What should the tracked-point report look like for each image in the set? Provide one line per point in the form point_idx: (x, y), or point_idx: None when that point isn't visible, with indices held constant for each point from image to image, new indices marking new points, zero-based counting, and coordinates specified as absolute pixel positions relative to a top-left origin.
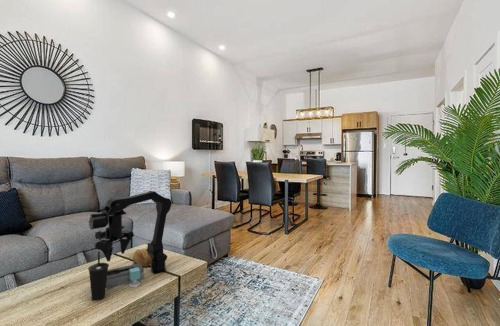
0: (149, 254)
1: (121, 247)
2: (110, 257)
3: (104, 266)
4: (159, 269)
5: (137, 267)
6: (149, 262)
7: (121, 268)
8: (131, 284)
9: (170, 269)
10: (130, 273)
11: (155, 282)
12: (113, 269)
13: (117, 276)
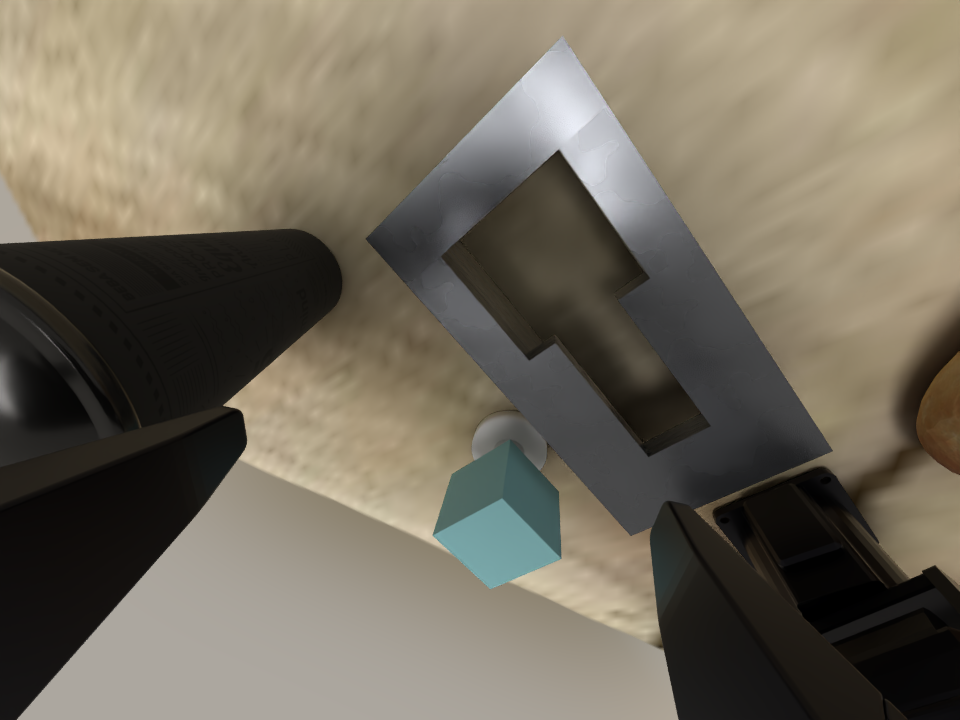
0: (878, 662)
1: (742, 669)
2: (164, 532)
3: None
4: (752, 562)
5: (552, 555)
6: (950, 470)
7: (670, 307)
8: (489, 438)
9: None
10: (455, 508)
11: (565, 547)
12: (640, 212)
13: (474, 354)
